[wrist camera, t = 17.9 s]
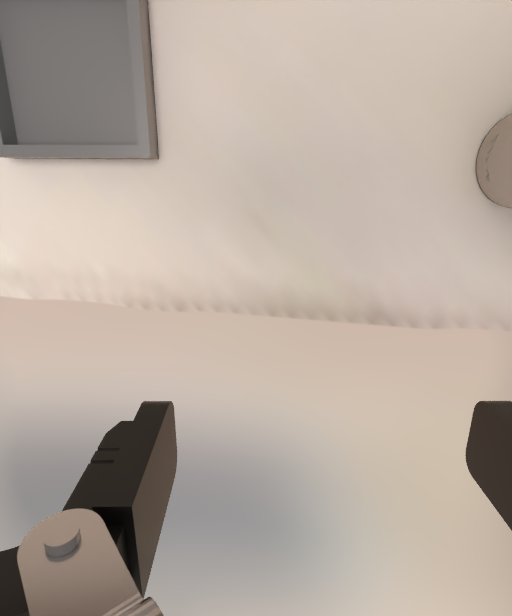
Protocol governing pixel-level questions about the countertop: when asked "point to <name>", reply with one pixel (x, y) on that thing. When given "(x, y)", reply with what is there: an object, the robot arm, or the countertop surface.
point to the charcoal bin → (76, 80)
